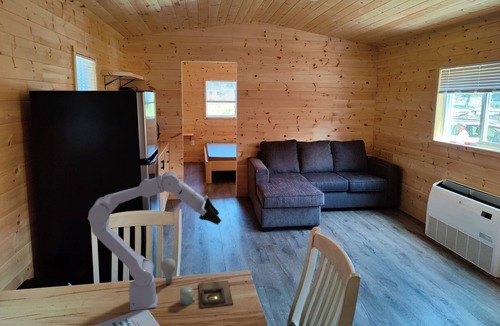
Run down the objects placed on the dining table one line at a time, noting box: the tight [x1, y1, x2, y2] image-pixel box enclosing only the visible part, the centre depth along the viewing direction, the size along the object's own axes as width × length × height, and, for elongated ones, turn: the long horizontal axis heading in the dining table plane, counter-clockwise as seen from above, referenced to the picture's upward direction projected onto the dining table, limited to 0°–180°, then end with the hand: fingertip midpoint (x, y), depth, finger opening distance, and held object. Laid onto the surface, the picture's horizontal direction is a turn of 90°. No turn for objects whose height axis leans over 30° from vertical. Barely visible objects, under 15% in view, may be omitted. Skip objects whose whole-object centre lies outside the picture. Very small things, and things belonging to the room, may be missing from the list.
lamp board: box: [198, 279, 234, 309], centre depth 141 cm, size 12×16×1 cm
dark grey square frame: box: [202, 288, 225, 305], centre depth 138 cm, size 8×8×1 cm
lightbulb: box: [160, 257, 177, 285], centre depth 148 cm, size 6×6×11 cm
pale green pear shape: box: [178, 285, 196, 307], centre depth 136 cm, size 6×5×5 cm
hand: (218, 218), depth 134 cm, fingers open, 7 cm apart
